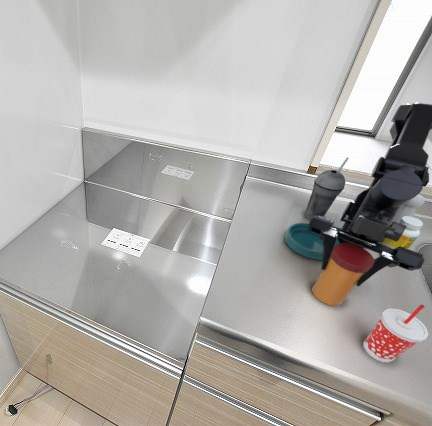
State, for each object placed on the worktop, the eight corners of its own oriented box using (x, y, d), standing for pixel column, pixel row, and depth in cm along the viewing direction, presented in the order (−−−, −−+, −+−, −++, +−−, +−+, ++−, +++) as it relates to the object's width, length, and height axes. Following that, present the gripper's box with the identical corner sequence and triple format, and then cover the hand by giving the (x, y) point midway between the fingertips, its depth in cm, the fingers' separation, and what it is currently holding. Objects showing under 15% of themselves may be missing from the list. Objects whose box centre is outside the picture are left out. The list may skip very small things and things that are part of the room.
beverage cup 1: (301, 207, 94) (327, 148, 82) (328, 214, 90) (359, 154, 78) (297, 218, 89) (324, 158, 77) (325, 227, 85) (358, 165, 73)
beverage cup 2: (369, 330, 59) (409, 285, 51) (405, 356, 55) (455, 312, 46) (351, 344, 57) (390, 299, 49) (387, 373, 53) (437, 329, 44)
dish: (290, 225, 86) (294, 217, 84) (338, 243, 80) (343, 235, 78) (278, 247, 79) (281, 239, 77) (330, 268, 72) (335, 260, 71)
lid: (333, 244, 63) (337, 238, 62) (372, 258, 60) (376, 252, 58) (327, 262, 59) (330, 256, 58) (368, 278, 56) (372, 272, 55)
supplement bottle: (383, 239, 81) (403, 211, 75) (407, 250, 77) (430, 222, 71) (375, 247, 78) (395, 219, 72) (399, 259, 75) (422, 230, 69)
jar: (315, 279, 70) (338, 241, 62) (345, 292, 66) (372, 254, 59) (309, 296, 66) (332, 258, 58) (340, 310, 63) (369, 272, 55)
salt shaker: (396, 229, 84) (424, 191, 76) (405, 242, 79) (436, 203, 72) (372, 226, 85) (397, 188, 77) (379, 238, 81) (406, 199, 73)
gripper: (328, 183, 59) (291, 251, 60) (456, 222, 48) (408, 304, 49) (324, 198, 68) (291, 257, 69) (431, 234, 58) (391, 303, 58)
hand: (339, 277), depth 61 cm, fingers closed on jar, 6 cm apart
